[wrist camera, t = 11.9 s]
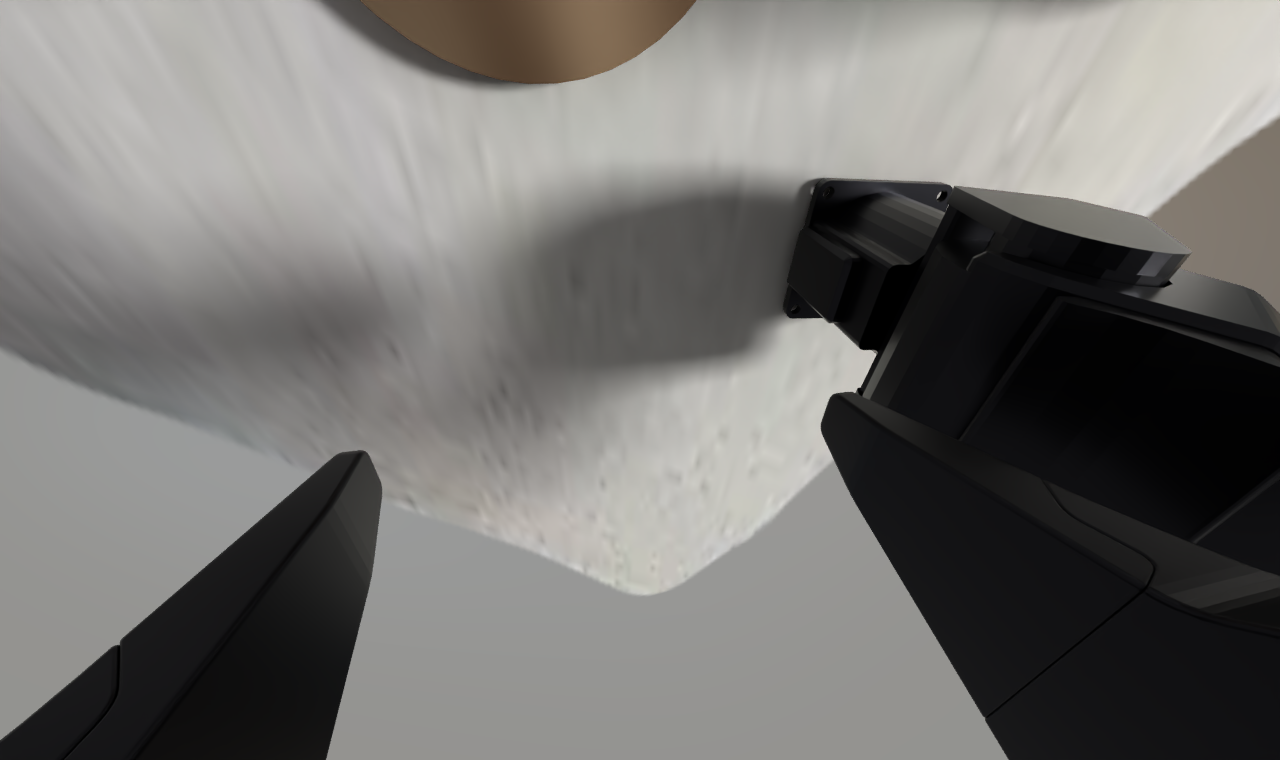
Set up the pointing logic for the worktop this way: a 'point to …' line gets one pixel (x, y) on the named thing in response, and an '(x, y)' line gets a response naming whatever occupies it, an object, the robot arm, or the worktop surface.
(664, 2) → the walnut board
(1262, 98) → the worktop surface
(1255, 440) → the robot arm
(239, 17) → the worktop surface
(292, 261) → the worktop surface
